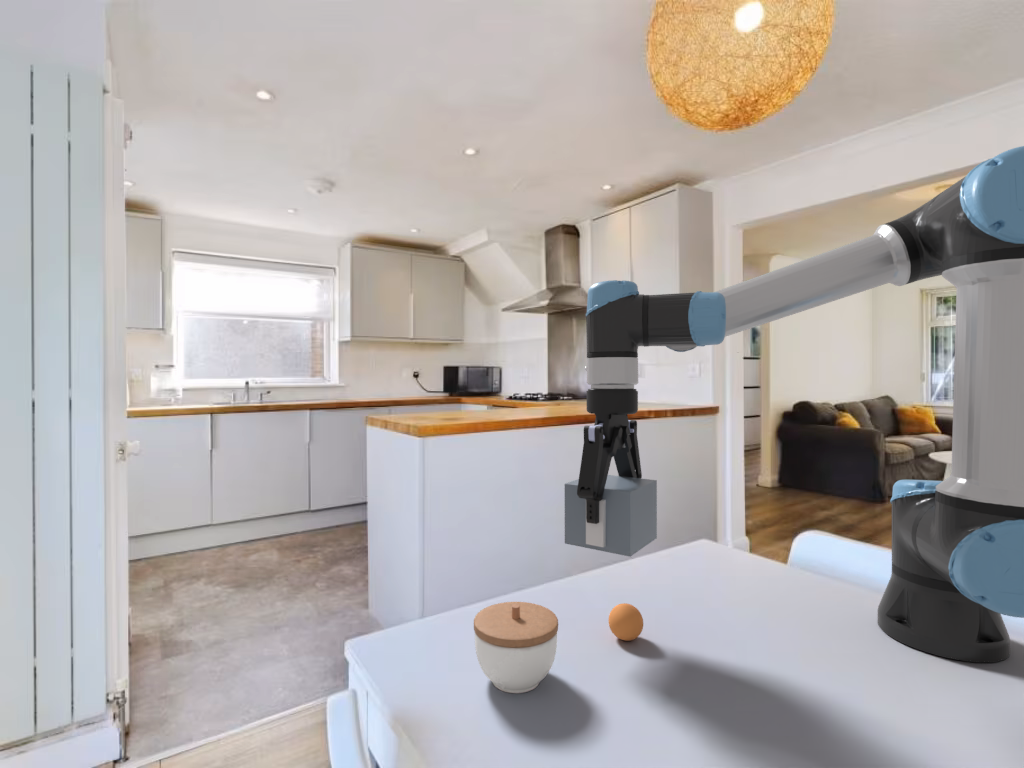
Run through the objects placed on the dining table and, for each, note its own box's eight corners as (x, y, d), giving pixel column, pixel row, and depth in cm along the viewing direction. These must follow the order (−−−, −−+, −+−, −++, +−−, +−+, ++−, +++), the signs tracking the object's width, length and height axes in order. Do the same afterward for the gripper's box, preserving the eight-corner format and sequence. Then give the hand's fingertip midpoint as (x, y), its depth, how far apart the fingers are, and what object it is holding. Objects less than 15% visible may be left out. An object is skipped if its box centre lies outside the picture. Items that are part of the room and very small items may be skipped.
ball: (610, 606, 82) (628, 638, 80) (596, 618, 77) (616, 651, 76) (635, 593, 79) (654, 624, 78) (622, 604, 75) (643, 638, 74)
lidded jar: (561, 705, 62) (561, 626, 62) (469, 705, 62) (469, 625, 62) (555, 657, 73) (555, 589, 72) (477, 656, 73) (477, 588, 73)
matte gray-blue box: (656, 538, 80) (656, 480, 80) (630, 556, 72) (630, 492, 72) (595, 527, 86) (595, 473, 86) (564, 543, 78) (564, 483, 78)
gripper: (619, 386, 90) (619, 515, 90) (550, 388, 72) (551, 551, 72) (662, 386, 86) (662, 522, 86) (601, 388, 67) (601, 562, 67)
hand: (612, 535), depth 79 cm, fingers closed on matte gray-blue box, 10 cm apart
